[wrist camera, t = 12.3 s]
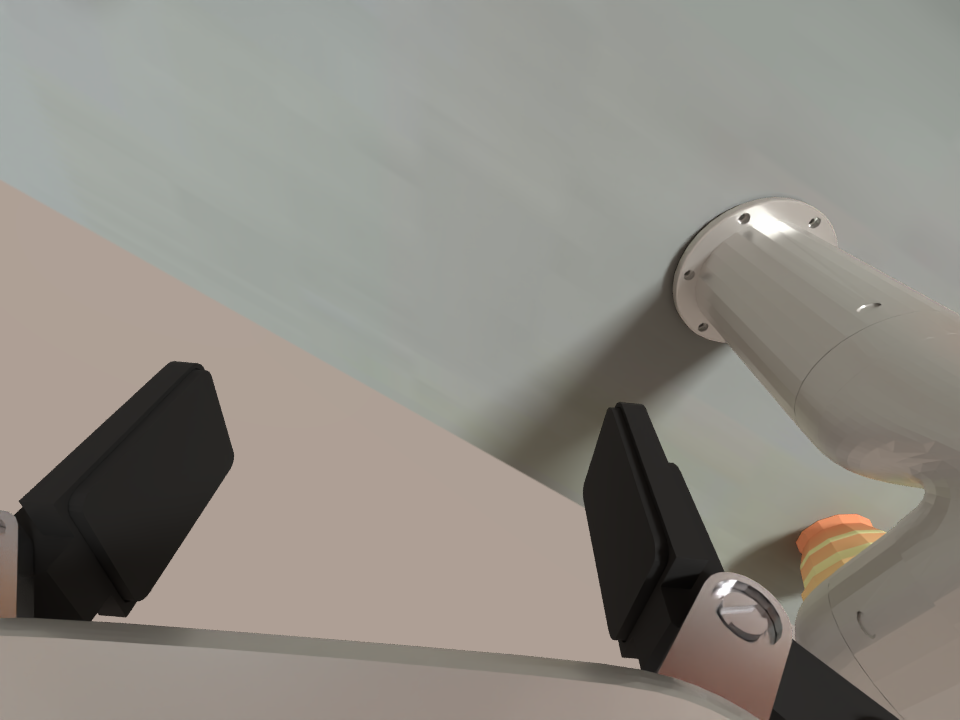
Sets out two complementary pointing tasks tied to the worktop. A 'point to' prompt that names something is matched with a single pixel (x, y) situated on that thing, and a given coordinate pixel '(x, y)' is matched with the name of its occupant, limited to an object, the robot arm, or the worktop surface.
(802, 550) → the potted cactus
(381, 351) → the worktop surface
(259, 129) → the worktop surface
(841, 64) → the worktop surface
